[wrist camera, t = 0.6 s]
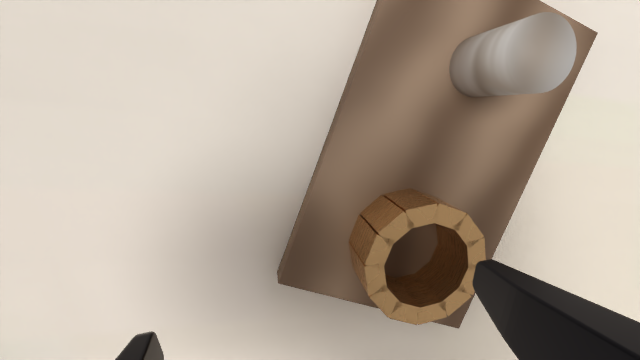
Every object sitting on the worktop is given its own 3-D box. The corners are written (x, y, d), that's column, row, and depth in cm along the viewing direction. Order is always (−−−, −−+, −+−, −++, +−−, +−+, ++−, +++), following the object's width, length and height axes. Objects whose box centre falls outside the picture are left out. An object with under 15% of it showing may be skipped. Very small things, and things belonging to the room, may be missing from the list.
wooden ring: (468, 208, 22) (505, 226, 19) (427, 301, 23) (454, 334, 20) (374, 175, 21) (395, 188, 17) (334, 276, 22) (346, 307, 18)
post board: (576, 37, 22) (696, 10, 16) (447, 316, 26) (507, 383, 19) (398, -59, 19) (462, -139, 13) (277, 271, 22) (282, 334, 16)
